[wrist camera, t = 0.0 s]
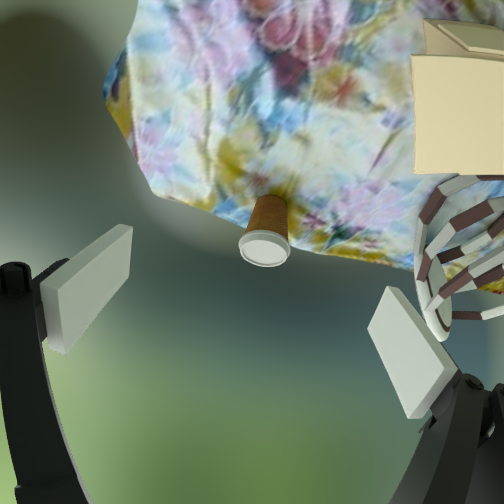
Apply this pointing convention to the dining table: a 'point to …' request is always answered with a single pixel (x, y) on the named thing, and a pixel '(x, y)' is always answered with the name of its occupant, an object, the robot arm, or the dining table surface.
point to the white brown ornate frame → (455, 257)
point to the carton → (464, 44)
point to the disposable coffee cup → (266, 233)
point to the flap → (458, 114)
